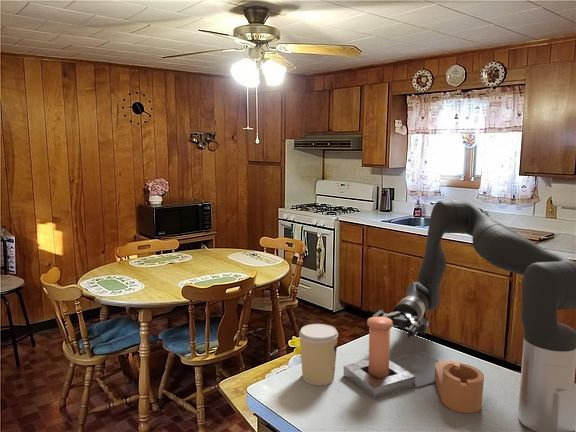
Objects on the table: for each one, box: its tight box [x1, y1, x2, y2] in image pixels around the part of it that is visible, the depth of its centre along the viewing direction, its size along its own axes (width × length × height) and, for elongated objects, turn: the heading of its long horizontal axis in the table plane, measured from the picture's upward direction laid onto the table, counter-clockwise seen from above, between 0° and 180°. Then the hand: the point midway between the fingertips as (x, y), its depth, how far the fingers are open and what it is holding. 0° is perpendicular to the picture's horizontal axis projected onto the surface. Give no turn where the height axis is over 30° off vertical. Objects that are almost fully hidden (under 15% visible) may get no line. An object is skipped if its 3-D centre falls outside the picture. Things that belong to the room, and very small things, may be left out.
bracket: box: [435, 359, 485, 414], centre depth 104 cm, size 18×8×7 cm, turn 170°
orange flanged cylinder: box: [366, 316, 393, 380], centre depth 108 cm, size 6×6×15 cm
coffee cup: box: [298, 323, 339, 386], centre depth 110 cm, size 9×9×12 cm
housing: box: [343, 359, 415, 399], centre depth 109 cm, size 12×12×2 cm
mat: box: [389, 351, 440, 389], centre depth 115 cm, size 14×14×1 cm
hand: (392, 330), depth 118 cm, fingers open, 8 cm apart
